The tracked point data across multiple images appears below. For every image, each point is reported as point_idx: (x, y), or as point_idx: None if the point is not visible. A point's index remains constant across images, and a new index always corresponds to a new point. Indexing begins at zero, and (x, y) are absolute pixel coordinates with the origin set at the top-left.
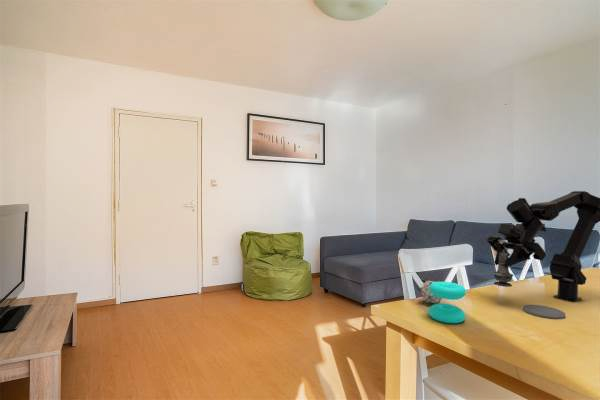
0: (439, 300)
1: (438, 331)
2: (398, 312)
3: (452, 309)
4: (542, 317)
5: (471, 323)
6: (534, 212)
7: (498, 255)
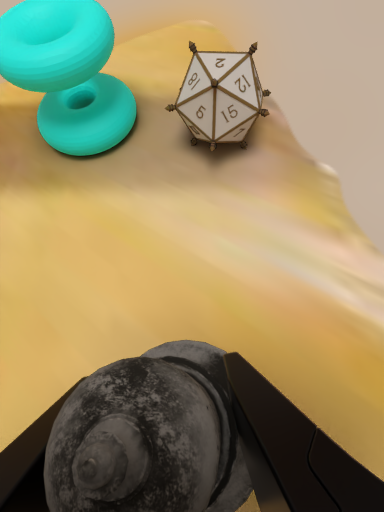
0: (189, 129)
1: None
2: (154, 47)
3: (51, 98)
4: None
5: (43, 165)
6: None
7: (255, 425)
